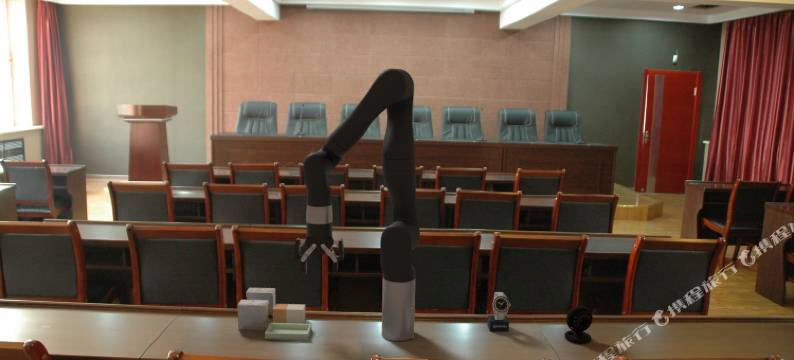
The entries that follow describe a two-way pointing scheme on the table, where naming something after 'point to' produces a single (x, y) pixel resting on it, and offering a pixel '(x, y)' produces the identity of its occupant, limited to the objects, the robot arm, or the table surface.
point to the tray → (288, 331)
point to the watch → (499, 313)
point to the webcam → (579, 325)
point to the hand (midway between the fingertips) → (319, 273)
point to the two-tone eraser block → (289, 313)
